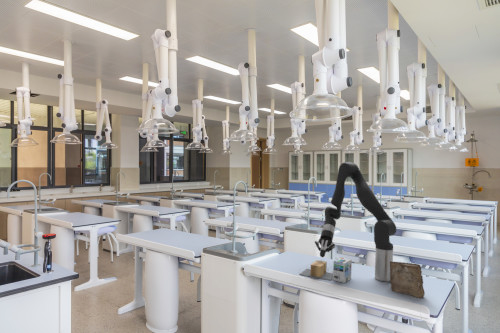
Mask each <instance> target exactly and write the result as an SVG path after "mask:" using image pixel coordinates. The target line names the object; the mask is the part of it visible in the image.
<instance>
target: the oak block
mask: <svg viewBox="0 0 500 333" xmlns="http://www.w3.org/2000/svg"><path fill="white" fill-rule="evenodd" d="M327 264H328V263H327V261H324V260H319V259H318V260H317V259H316V260H315V261H314V262H312V263H311V264H310V269H311V273H310V275H311V276H317V277H322V276H323V275H324V274H325V273H326V272H327V268H328V267H327Z"/></svg>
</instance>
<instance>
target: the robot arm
mask: <svg viewBox="0 0 500 333" xmlns="http://www.w3.org/2000/svg"><path fill="white" fill-rule="evenodd" d="M349 177H350V179H351V180H352V181H353V183H354V186H355V193H356V196H357V198H358V201H359V202H360V204H361V206H363V208H364V209H365V210H367V211H368V212H369V213H370V214H371V215H372V216H374V218H375V219H376V222H375V224H374V227H373V239H374V240H373V241H374V244H375V252H374V253H375V254H374V256H375V258H374V261H375V262H374V279H376V280H377V281H380V282H390V276H391V274H390V262H389V261H392V262H394V244H393V243H392V242H391V241H390V237H391V236H394V235H395V234H396V232H397V226H396V223H395V221H394V220H392V218H391V217H390V215H389V214H388V213H387V211H385V209H384V207H383V206H382V204H381V203H380V201H379V200H378V198H377V197H376V195H375V193H374V192H373V190H372V189H371V187H370V186H369V185H368V183H367V181H366V180H365V178H364V176H363V174H362V173H361V170H360V168H359V166H358V165H357V164H356V163H355V162H342V163H340V165H339V167H338V170H337V176H336V182H335V186H334V191H333V193H332V198H331V201H330V203H331V205H333V207H332V206H330V205H329V206H327V207H326V208H325V209H324V223H323V226H322V229H321V233H320V237H319V239H318V240H315V241H314V244H315V246H316V248H317V250H318V251H319V256H320V258H324V257H325V256H326V253H327V252H328V253H330V251H332V250H333V249H335V248H336V244H335V243H333V238H334V235H335V229H336V225H337V220H340V218H341V215H342V206H343V205H342V204H343V201H344V199H345V196H346V190H345V183H346V180H347V178H349Z"/></svg>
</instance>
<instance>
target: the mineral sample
mask: <svg viewBox="0 0 500 333" xmlns="http://www.w3.org/2000/svg"><path fill="white" fill-rule="evenodd" d="M389 262H390V274H391V276H390V281H389V282H390V289H391V291H393V292H396V293H399V294H404V295H409V296H412V297H415V298H416V299H417V298H418V299H422V298H424V297H425V294H426V293H425V289H424V279H423V275H422V272H423V271H422V267H421V266H422V265H421V264H418V263H412V262H411V263H409V262H401V261H393V262H392V261H389Z"/></svg>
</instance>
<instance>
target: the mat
mask: <svg viewBox="0 0 500 333" xmlns="http://www.w3.org/2000/svg"><path fill="white" fill-rule="evenodd" d="M310 273H311V268H310V269H309V268H306V269H304V270H303V271H301V273H299V276H303V277H311V278H314V277H315V279H319V278H321V279H320V280H325V279H327V280H326V281H330V280H331V281H332V280H333V279H332V278H333V272H328V271H326V273H325V274H324V275H323V276H322V277H317V276H311V275H310Z"/></svg>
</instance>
